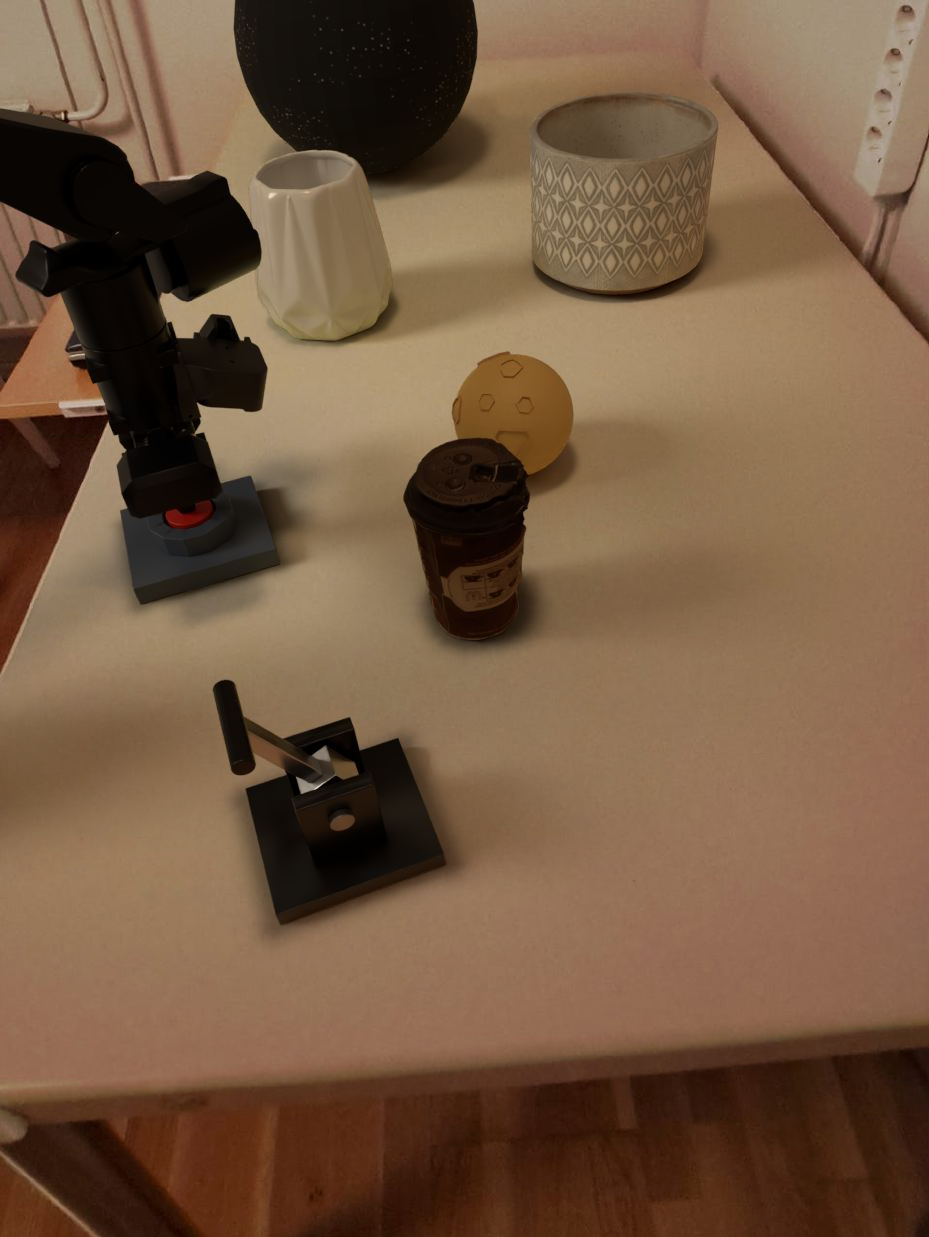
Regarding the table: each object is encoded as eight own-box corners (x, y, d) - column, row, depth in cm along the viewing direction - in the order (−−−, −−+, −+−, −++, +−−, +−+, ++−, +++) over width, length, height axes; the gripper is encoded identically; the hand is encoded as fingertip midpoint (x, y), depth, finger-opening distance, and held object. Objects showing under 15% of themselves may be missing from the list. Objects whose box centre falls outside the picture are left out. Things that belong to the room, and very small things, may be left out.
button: (175, 546, 73) (168, 529, 72) (169, 519, 75) (162, 502, 74) (220, 534, 74) (215, 517, 72) (213, 507, 76) (207, 490, 75)
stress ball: (515, 417, 85) (512, 316, 78) (596, 462, 80) (601, 359, 73) (433, 466, 81) (422, 365, 74) (512, 518, 76) (509, 414, 68)
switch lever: (216, 777, 45) (254, 750, 45) (198, 695, 49) (233, 668, 48) (339, 838, 52) (373, 815, 52) (316, 763, 56) (347, 740, 56)
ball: (485, 205, 116) (471, -93, 95) (247, 220, 118) (179, -70, 96) (482, 117, 137) (470, -145, 115) (279, 131, 138) (229, -125, 117)
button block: (140, 604, 72) (125, 571, 69) (126, 525, 78) (112, 492, 76) (280, 564, 74) (270, 530, 71) (255, 490, 80) (245, 457, 78)
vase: (377, 354, 94) (355, 202, 83) (246, 347, 97) (207, 199, 86) (410, 286, 103) (394, 141, 92) (290, 281, 106) (260, 139, 95)
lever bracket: (280, 925, 53) (250, 861, 48) (249, 798, 59) (220, 729, 54) (446, 864, 55) (435, 797, 50) (400, 748, 61) (386, 676, 56)
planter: (728, 244, 105) (748, 105, 95) (655, 319, 95) (668, 174, 85) (581, 213, 113) (585, 82, 103) (500, 280, 103) (494, 142, 93)
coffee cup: (560, 612, 68) (562, 470, 59) (475, 674, 65) (463, 533, 55) (480, 554, 73) (471, 414, 64) (397, 609, 70) (374, 469, 60)
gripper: (271, 369, 57) (316, 555, 69) (218, 245, 70) (264, 420, 81) (86, 414, 55) (164, 599, 67) (66, 278, 67) (135, 454, 79)
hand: (188, 510), depth 73 cm, fingers closed, pressing on button
